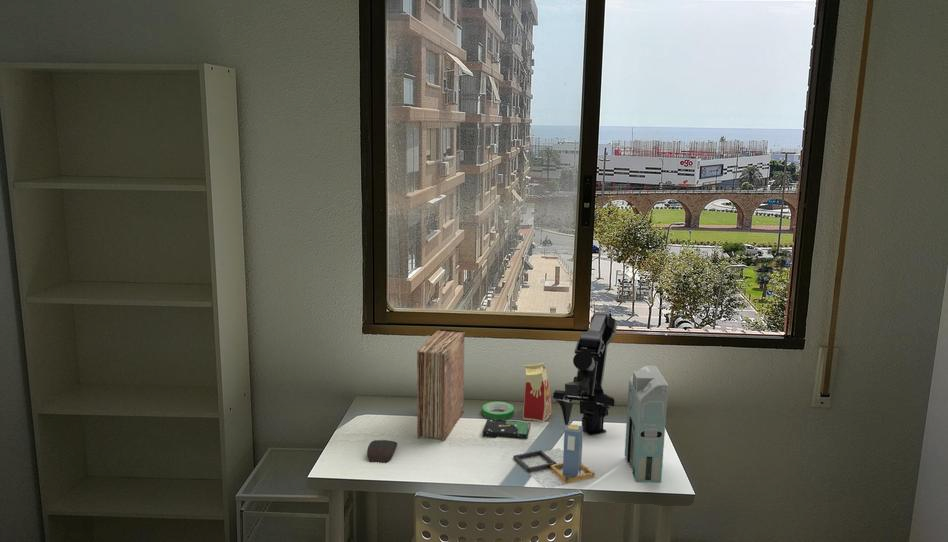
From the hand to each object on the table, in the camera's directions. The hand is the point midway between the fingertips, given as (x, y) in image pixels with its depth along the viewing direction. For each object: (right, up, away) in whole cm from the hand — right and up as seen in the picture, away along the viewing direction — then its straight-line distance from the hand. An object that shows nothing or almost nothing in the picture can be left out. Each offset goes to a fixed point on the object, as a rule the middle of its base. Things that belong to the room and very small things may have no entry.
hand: (579, 426), depth 236 cm
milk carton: (-10, -4, +36) cm, 38 cm away
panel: (-8, -12, -2) cm, 15 cm away
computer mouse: (-60, -10, +7) cm, 62 cm away
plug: (-3, -12, -5) cm, 14 cm away
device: (+19, -13, -2) cm, 23 cm away
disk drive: (-21, -7, +23) cm, 32 cm away
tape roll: (-23, -4, +38) cm, 45 cm away
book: (-43, -5, +28) cm, 52 cm away
